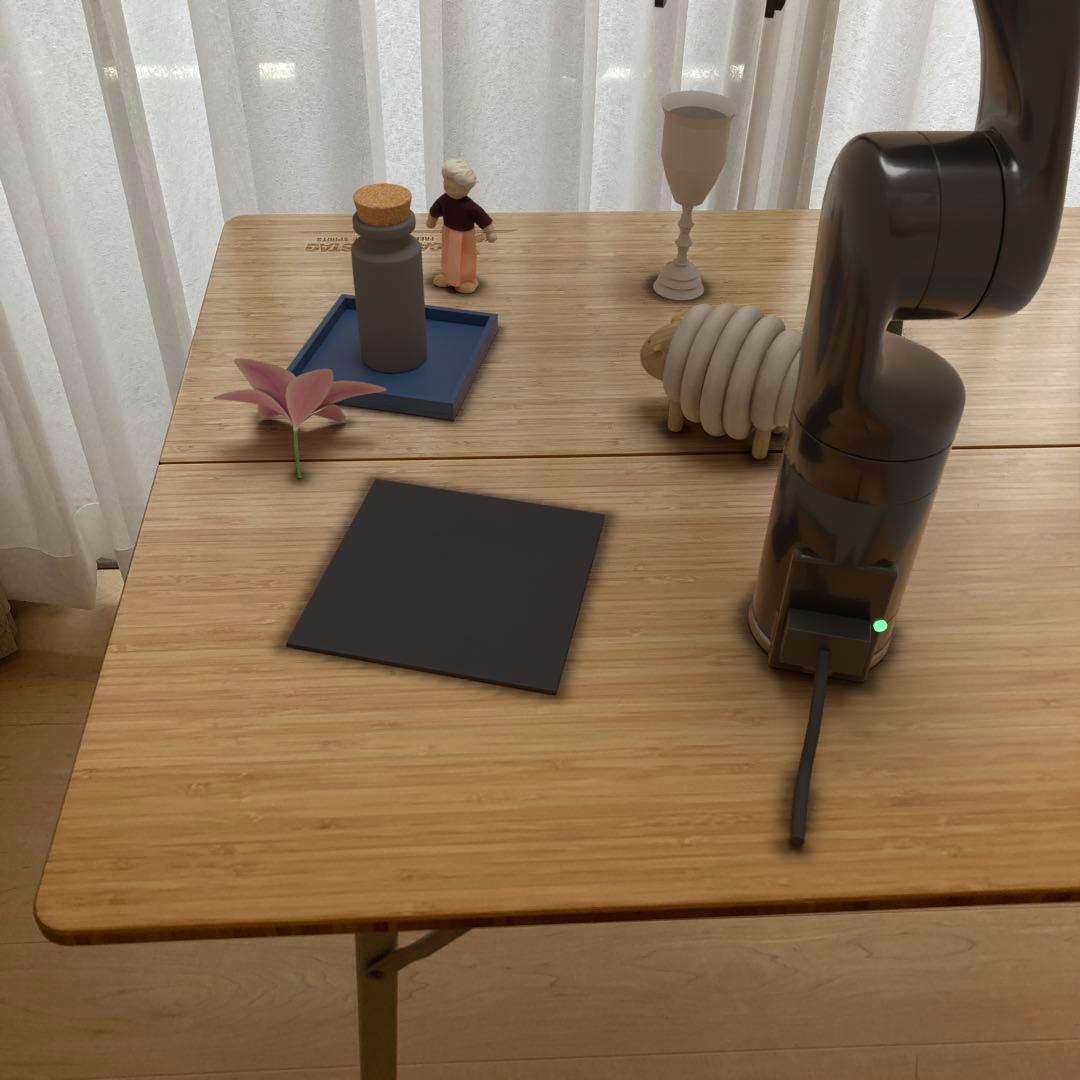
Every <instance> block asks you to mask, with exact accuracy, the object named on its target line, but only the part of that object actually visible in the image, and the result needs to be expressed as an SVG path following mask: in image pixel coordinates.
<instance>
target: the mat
mask: <svg viewBox="0 0 1080 1080" xmlns="http://www.w3.org/2000/svg"><path fill="white" fill-rule="evenodd" d="M605 518H606V514H605V513H600V512H593V511H587V510H581V509H580V510H579V509H575V508H574V509H573V508H567V507H561V506H554V505H549V504H541V503H534V502H528V501H522V500H517V499H516V500H515V499H509V498H503V497H495V496H490V495H483V494H477V493H476V494H475V493H470V492H463V491H456V490H450V489H443V488H437V487H431V486H425V485H419V484H412V483H411V484H410V483H404V482H399V481H392V480H386V479H380V478H375V479H374V481H373V482H372V485H371V486H370V489H369V490H368V492H367V493H366V496H365V498H364V499H363V501H362V503H361V505H360V506H359V508H358V510H357V512H356V514H355V516H354V518H353V519H352V521H351V523H350V525H349V526H348V529H347V530H346V532H345V534H344V536H343V538H342V539H341V541H340V544H339V545H338V547H337V549H336V551H335V552H334V555H332V558H331V560H330V562H329V564H328V565H327V567H326V569H325V571H324V573H323V575H322V577H321V578H320V580H319V581H318V584H317V586H316V587H315V589H314V591H313V593H312V595H311V597H310V599H309V600H308V602H307V604H306V606H305V608H304V610H303V611H302V613H301V615H300V617H299V619H298V620H297V622H296V624H295V626H294V628H293V629H292V632H291V633H290V635H289V637H288V639H287V641H286V642H285V645H286V647H291V648H295V649H302V650H308V651H311V652H318V653H323V654H330V655H334V656H340V657H345V658H346V657H347V658H350V659H357V660H363V661H368V662H373V663H380V664H385V665H390V666H395V667H402V668H406V669H412V670H417V671H424V672H428V673H429V672H430V673H434V674H441V675H445V676H449V677H450V676H452V677H456V678H461V679H467V680H472V681H473V680H474V681H479V682H484V683H489V684H495V685H501V686H506V687H512V688H518V689H523V690H529V691H534V692H540V693H545V694H551V695H557V692H558V689H559V684H560V681H561V678H562V675H563V674H562V673H563V670H564V666H565V663H566V659H567V655H568V653H569V648H570V645H571V641H572V638H573V634H574V630H575V626H576V622H577V620H578V616H579V612H580V609H581V605H582V601H583V599H584V594H585V590H586V587H587V583H588V580H589V576H590V573H591V569H592V565H593V562H594V558H595V554H596V551H597V547H598V543H599V541H600V536H601V533H602V529H603V525H604V522H605Z"/></svg>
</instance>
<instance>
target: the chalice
mask: <svg viewBox="0 0 1080 1080" xmlns="http://www.w3.org/2000/svg"><path fill="white" fill-rule="evenodd" d="M659 101H660V106H661V109H662V111H663V114H664V118H663V128H662V139H661V148H660V149H661V150H660V157H661V161H662V167H663V171H664V175H665V179H666V182H667V185H668V188H669V190H670V192H671V196H672V198H673V201H674V202H675V203H676V204H678V205H680V206H681V210H682V212H681V214H680V215H681V216H680V218H679V220H678V221H677V226H678V228H679V235H678V237H677V238H676V239H675V240H674V244H675V245H676V247H677V254H676V258H674V259H673V260H670V261H669V262H667V263H665V265H664V266H663V267H662V268H661V271H660V272H659V274H657V275H658V276H657V279H656V280H655V281H654V282H653V284H652V289H653V290H654V292H655V293H656V294H658V295H659V296H661V297H662V298H666V299H669V300H673V301H691V300H694V299H697V298H700V297H701V296H702V295H703V294H704V292H705V288H704V286H703V283H702V278H701V275H700V271H699V268H697V266H696V264H694V263H693V262H692V261H690V260H689V259H688V252H689V248H690V247H691V246H692V245H693V241H692V239H691V237H690V233H691V230H692V229H693V227H694V226H695V223H694V221H693V215H692V214H693V210H694V208H695V207H698V206H702V204H703V203H704V202H705V200H706V198H707V197H708V195H709V194H710V192H711V190H712V189H713V188H714V187H715V185H716V183H717V181H718V179H719V177H720V175H721V173H722V170H723V168H724V166H725V164H726V163H727V156H728V155H727V154H728V149H729V141H730V133H731V125H732V120H733V119H734V118H735V116H736V115H737V113H738V111H739V106H738V104H737V103H736V102H735V100H733V99H731V98H730V97H727V96H725V95H722V94H718V93H715V92H710V91H703V90H678V91H673V92H670V93H667V94H666V95H664V96H662V97H661V99H660V100H659Z"/></svg>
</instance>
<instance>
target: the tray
mask: <svg viewBox="0 0 1080 1080" xmlns="http://www.w3.org/2000/svg"><path fill="white" fill-rule="evenodd" d="M425 320H426V340H427V357H426V359H425V361H424V362H423V363H422V364H421V365H420V366H418V367H417V368H415V369H412V370H410V371H406V372H401V373H383V372H379V371H375V370H373V369H371V368H369V367H368V366H366V365H365V364H364V362H363V360H362V356H361V348H360V339H359V330H358V320H357V310H356V300H355V294H354V295H353V294H346V293H341V294H340V296H339V297H338V299H336V301H335V302H334V304H333V305H332V307H331V308H330V309H329V310H328V312H327V313H326V315H324V318H322V320H321V321H320V323H318V326H317V327H316V328H315V329H314V331H313V332H312V334H311V335H310V336H309V338H308V339H307V341H306V342H305V343H304V344H303V346H302V347H301V348H300V350H299V352H298V353H297V354H296V355H295V357H294V358H293V359H292V361H291V362H290V364H288V366H287V367H286V368H285V369H286V370H288V371H289V372H291V373H292V374H294V375H295V376H296V377H297V376H299V375H301V374H304V373H307V372H310V371H315V370H319V369H331V370H332V371H333V382H335V381H357V382H363V383H368V384H373V385H377V386H380V387H384V388H385V389H387V390H386V391H382V392H376V393H370V394H364V395H358V396H354V397H350V398H347V399H344V400H341V401H338V402H336V403H335V404H337V405H338V404H339V405H346V406H352V407H359V408H366V409H373V410H381V411H387V412H394V413H399V414H407V415H414V416H415V415H416V416H421V417H427V418H433V419H435V418H436V419H442V420H448V421H449V420H450V421H454V420H455V418H456V416H457V415H458V412H459V410H460V409H461V406H462V404H463V402H464V400H465V399H466V397H467V394H468V392H469V390H470V388H471V386H472V384H473V382H474V379H475V378H476V376H477V374H478V372H479V370H480V367H481V365H482V363H483V361H484V359H485V357H486V355H487V353H488V351H489V349H490V347H491V345H492V343H493V341H494V339H495V337H496V334H497V332H498V331H499V314H498V313H494V312H493V313H491V312H486V311H477V310H470V309H463V308H454V307H446V306H438V305H431V304H425Z"/></svg>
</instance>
